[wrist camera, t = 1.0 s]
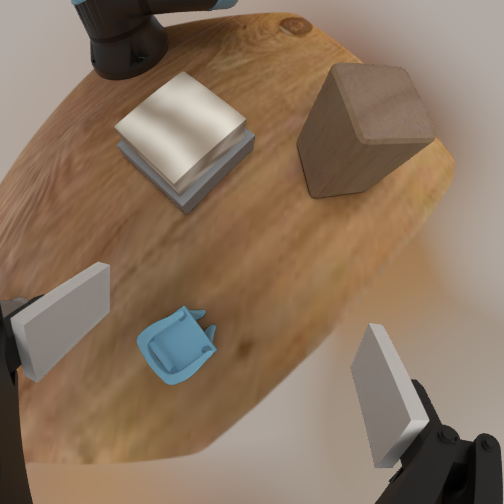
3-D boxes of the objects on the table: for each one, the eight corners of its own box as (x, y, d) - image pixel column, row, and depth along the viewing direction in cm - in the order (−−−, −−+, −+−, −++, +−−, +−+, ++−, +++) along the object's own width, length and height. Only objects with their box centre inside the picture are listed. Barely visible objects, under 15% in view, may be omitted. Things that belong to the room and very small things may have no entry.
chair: (226, 340, 42) (227, 359, 30) (179, 372, 41) (163, 400, 29) (194, 295, 42) (182, 296, 30) (147, 328, 41) (119, 340, 29)
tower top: (186, 91, 41) (182, 70, 36) (244, 137, 41) (246, 119, 36) (125, 143, 39) (114, 126, 34) (180, 196, 39) (173, 184, 34)
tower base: (189, 101, 46) (186, 83, 41) (252, 150, 46) (255, 135, 41) (126, 158, 44) (116, 145, 39) (187, 215, 44) (182, 206, 39)
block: (294, 140, 46) (331, 58, 26) (350, 136, 47) (407, 64, 27) (309, 200, 45) (363, 140, 25) (367, 192, 46) (441, 139, 26)
